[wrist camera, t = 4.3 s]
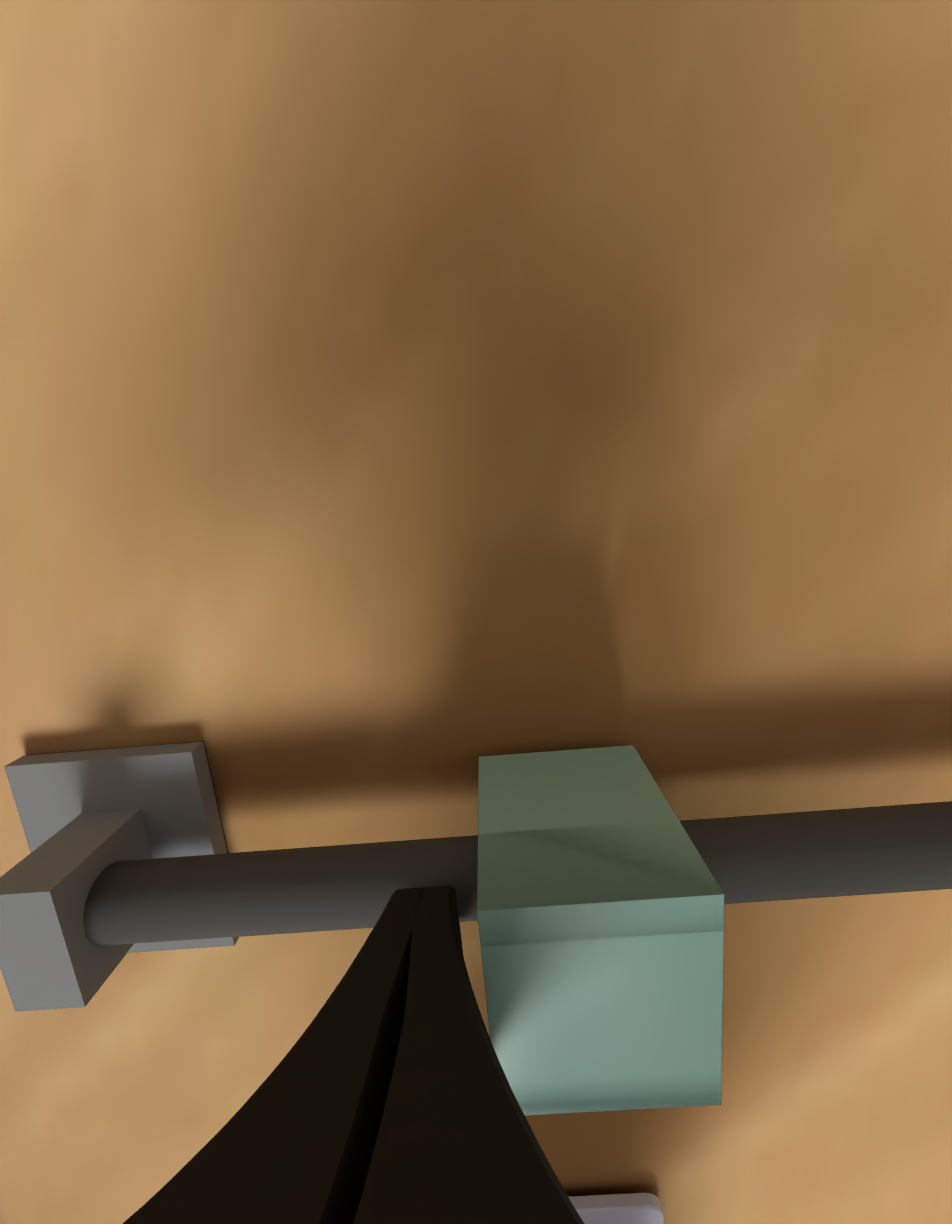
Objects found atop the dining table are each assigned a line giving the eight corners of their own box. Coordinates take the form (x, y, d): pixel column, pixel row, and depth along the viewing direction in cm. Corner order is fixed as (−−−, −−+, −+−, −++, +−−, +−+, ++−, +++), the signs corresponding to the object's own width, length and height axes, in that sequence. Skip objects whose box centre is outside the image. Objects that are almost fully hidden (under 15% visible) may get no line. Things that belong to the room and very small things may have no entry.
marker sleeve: (637, 891, 14) (721, 1104, 9) (492, 901, 15) (498, 1116, 10) (632, 744, 14) (723, 894, 8) (478, 756, 14) (477, 911, 9)
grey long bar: (1235, 861, 15) (1509, 994, 11) (78, 939, 16) (-56, 1087, 12) (1287, 656, 13) (1620, 723, 9) (23, 755, 14) (-149, 852, 10)
